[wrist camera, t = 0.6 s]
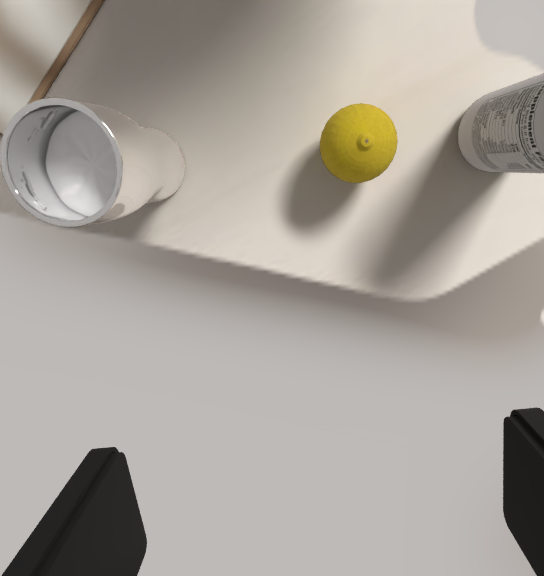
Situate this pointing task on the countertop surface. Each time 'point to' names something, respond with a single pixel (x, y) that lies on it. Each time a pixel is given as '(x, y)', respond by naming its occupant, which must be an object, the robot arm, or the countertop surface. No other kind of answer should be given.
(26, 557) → the robot arm
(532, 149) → the energy drink can
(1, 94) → the clipboard
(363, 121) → the lemon
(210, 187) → the countertop surface
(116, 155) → the beer glass
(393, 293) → the countertop surface
